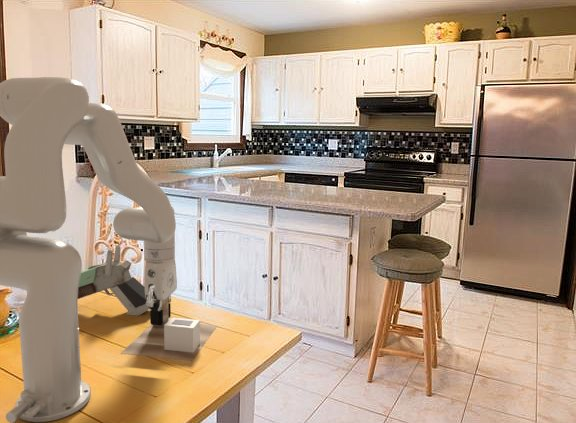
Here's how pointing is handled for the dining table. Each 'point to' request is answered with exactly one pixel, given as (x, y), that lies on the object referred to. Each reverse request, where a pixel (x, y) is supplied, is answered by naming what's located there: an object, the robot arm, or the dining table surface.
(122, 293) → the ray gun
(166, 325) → the white rectangular block
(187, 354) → the board
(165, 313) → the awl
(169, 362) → the dining table surface
